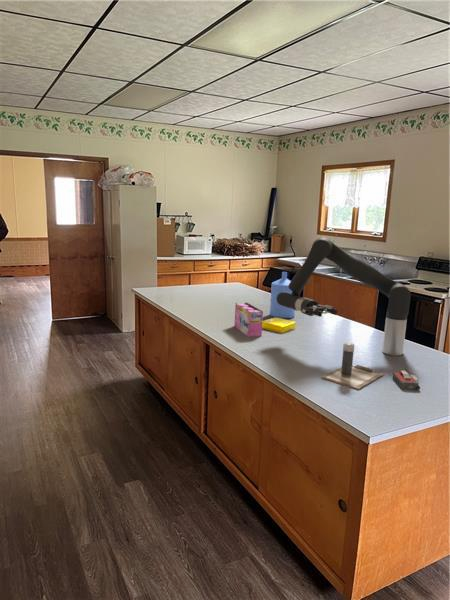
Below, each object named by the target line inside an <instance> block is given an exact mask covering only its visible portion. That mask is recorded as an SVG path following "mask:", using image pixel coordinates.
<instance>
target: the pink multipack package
mask: <svg viewBox="0 0 450 600" xmlns="http://www.w3.org/2000/svg"><path fill="white" fill-rule="evenodd" d="M234 307H235V308H234V327H235V328H237V329H238V330H239V331H240V332H241V333H243V334H244V335H246V336H247V337H248V338H253V337H254V338H255V337H262V336H263V334H262V333H263V329H262V321H264V312H263V310H262V309H259V308H258V307H256V306H255V305H252V304H251V303H248V302H244V303H237V302H236V303H235V306H234Z"/></svg>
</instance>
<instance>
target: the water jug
mask: <svg viewBox="0 0 450 600" xmlns="http://www.w3.org/2000/svg"><path fill="white" fill-rule="evenodd" d="M290 282H291V280H290V279H289V278H288V272H287V271H282V272H281V278H280V279H277V280H275V281H273V282H272V283H271V288H270V291H271V292H270V308H269V316H271V317H272V316H273V317H272V318H276V317H277V318H281V319H291V318H294V317H295V313H296V312H295V310H293V309H291V308H287V307H284V306H281V305H279V304H278V303H277V300H276V298H277V295H278V294H279V293H280V292H286V293H289V294H291V293H292V291H291V290H290V289H289V287H288V286H289V283H290Z"/></svg>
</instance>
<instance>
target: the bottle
mask: <svg viewBox="0 0 450 600" xmlns="http://www.w3.org/2000/svg"><path fill="white" fill-rule="evenodd" d="M354 352H355V343H352V342H343V348H342V359H341V360H342V361H341V367H342V369H341V376H342V377H344V378H350V377H351V373H352V365H353V362H354V361H353V360H354Z"/></svg>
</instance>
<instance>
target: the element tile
mask: <svg viewBox="0 0 450 600" xmlns="http://www.w3.org/2000/svg"><path fill="white" fill-rule="evenodd" d="M296 324H297V323H296V321H294V320H289V319H286V318H276V317H271V318H269V319H265V320H263V321H262V330H266V331H267V330H268V331H271V332H274V333H275V332H276V333H280V334H285V333H287V332H291V331H293V330H295V329H296Z"/></svg>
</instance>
